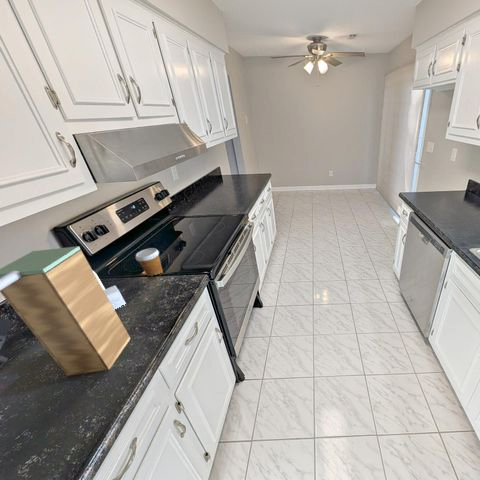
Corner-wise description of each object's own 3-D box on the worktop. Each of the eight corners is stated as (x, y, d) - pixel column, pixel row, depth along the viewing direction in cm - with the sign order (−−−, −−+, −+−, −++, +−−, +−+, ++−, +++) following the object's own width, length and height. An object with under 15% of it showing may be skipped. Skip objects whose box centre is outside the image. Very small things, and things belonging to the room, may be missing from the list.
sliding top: (-60, 310, 51) (-68, 301, 50) (35, 256, 71) (31, 249, 70) (5, 302, 52) (-2, 294, 51) (81, 251, 72) (77, 244, 70)
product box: (105, 306, 103) (96, 292, 100) (122, 298, 107) (115, 284, 104) (109, 313, 100) (100, 298, 96) (126, 304, 104) (119, 290, 100)
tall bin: (66, 375, 75) (-10, 280, 60) (93, 343, 86) (35, 254, 70) (109, 369, 76) (45, 273, 61) (130, 338, 87) (81, 249, 71)
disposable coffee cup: (139, 278, 121) (129, 256, 116) (156, 267, 129) (147, 246, 124) (154, 280, 118) (144, 258, 113) (170, 269, 126) (162, 248, 121)
